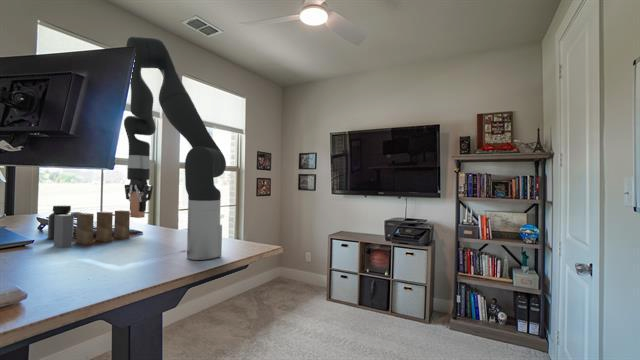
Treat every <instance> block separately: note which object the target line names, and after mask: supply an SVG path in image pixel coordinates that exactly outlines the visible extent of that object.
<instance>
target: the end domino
mask: <svg viewBox="0 0 640 360" xmlns="http://www.w3.org/2000/svg"><path fill="white" fill-rule="evenodd" d="M72 239H73V237H72V215H55V223H54V240H53V247H56V248H60V249H65V248H71V247H72Z"/></svg>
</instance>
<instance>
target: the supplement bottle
mask: <svg viewBox="0 0 640 360" xmlns="http://www.w3.org/2000/svg"><path fill="white" fill-rule="evenodd" d="M71 211H72V205H53V206H52V213H51V214H49V216H48V219H47V240H51V241H54V223H55V215H72V238H74V226H75V225H74V222H75V215H74V214H73V213H71Z"/></svg>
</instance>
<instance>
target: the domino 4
mask: <svg viewBox="0 0 640 360" xmlns="http://www.w3.org/2000/svg"><path fill="white" fill-rule="evenodd" d="M140 193H141V194H143V193H144V192H140ZM142 198H143V196H142ZM139 202H140V201H139V197H138V196H137V193H136V192H133V193H132V196H131V209H130V208H129V211H130V218H136V219H140V218H141V219H143V218H145V215H146V211H145V212H140V211H139Z"/></svg>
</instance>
